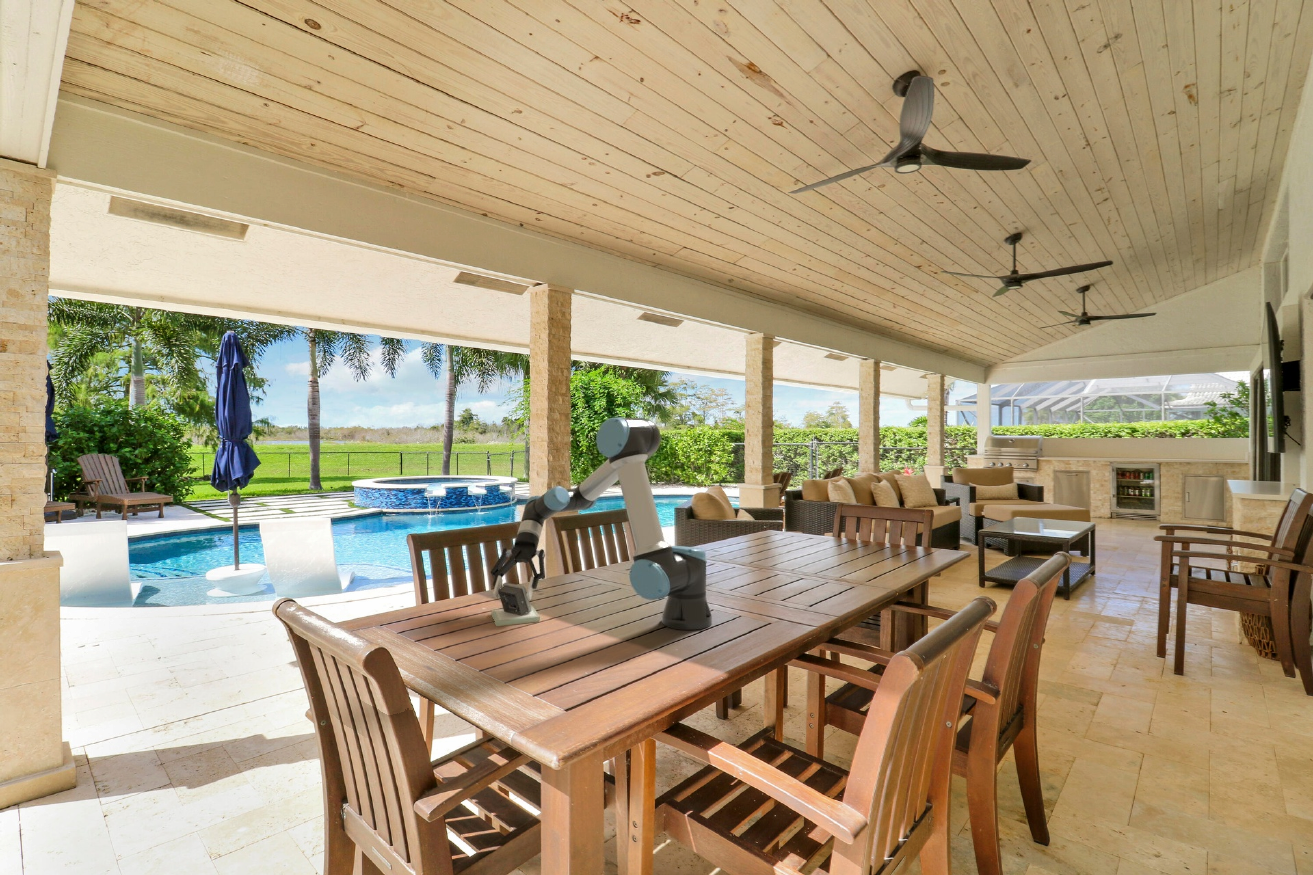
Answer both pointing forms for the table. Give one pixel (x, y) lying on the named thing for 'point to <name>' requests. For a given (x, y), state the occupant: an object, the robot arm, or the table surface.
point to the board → (514, 617)
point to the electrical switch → (514, 599)
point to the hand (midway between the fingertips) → (511, 596)
